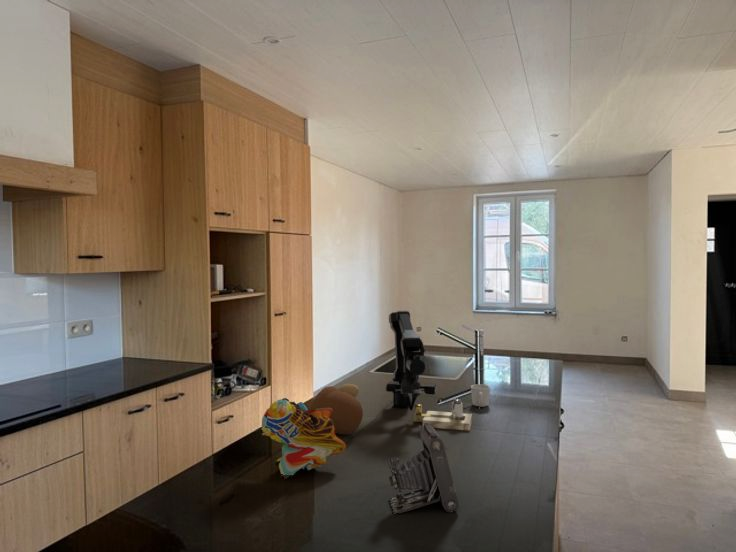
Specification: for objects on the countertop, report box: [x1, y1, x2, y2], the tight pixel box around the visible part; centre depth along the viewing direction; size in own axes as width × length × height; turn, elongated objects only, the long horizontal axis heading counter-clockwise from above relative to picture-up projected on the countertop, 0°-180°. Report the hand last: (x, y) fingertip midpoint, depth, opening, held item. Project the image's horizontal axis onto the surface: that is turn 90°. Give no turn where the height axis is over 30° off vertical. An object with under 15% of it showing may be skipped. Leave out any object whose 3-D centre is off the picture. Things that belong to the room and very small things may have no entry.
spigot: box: [451, 398, 464, 420], centre depth 190 cm, size 4×4×9 cm
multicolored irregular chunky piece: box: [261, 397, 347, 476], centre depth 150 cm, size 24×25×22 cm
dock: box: [422, 410, 473, 431], centre depth 191 cm, size 17×12×2 cm
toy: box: [307, 383, 364, 435], centre depth 182 cm, size 24×16×20 cm
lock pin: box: [413, 403, 431, 423], centre depth 193 cm, size 6×3×6 cm, turn 74°
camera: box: [388, 423, 460, 514], centre depth 127 cm, size 11×17×20 cm, turn 95°
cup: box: [470, 383, 491, 408], centre depth 213 cm, size 11×8×8 cm
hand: (411, 410), depth 194 cm, fingers closed
